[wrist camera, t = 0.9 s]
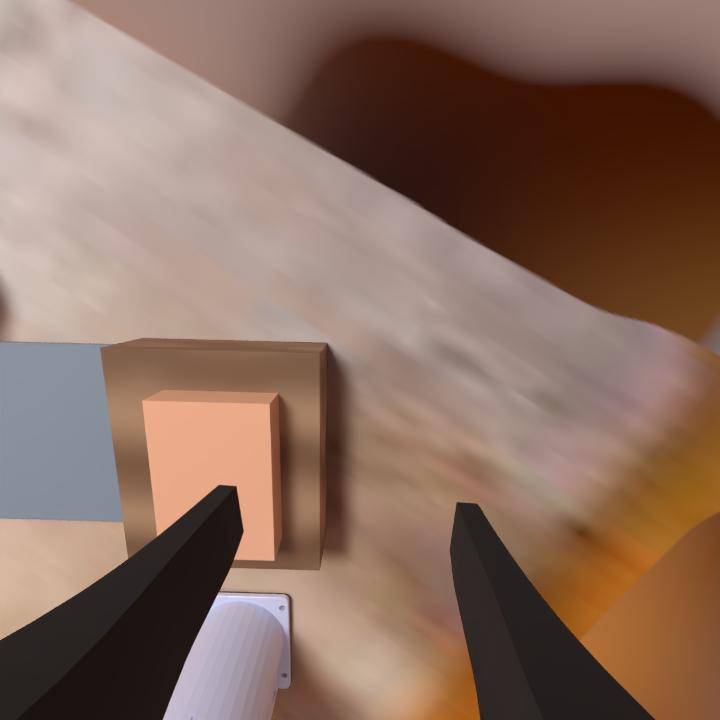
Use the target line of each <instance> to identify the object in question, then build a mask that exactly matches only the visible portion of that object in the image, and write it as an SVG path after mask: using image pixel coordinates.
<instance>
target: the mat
mask: <svg viewBox="0 0 720 720" xmlns="http://www.w3.org/2000/svg"><path fill="white" fill-rule="evenodd" d="M110 345H115V344H81V343H42V342H3V341H0V518H8V519H43V520H78V521H113V522H123V515H122V508H121V500H120V493H119V485H118V478H117V470H116V463H115V456H114V448H113V441H112V433H111V426H110V418H109V411H108V403H107V396H106V388H105V381H104V374H103V366H102V359H101V351H100V348H101V347H106V346H110Z"/></svg>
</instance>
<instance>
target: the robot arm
mask: <svg viewBox="0 0 720 720" xmlns="http://www.w3.org/2000/svg"><path fill="white" fill-rule="evenodd" d="M243 533H244V529H243V523H242V517H241V511H240V504H239V498H238V492H237V486H229V485H218V486H217V487H216V488H215V489H213V490H212V491H211V492H210V493H209V494H207V495H206V496H205V497H204V498H203V499H202V500H200V501H199V502H198V503H197V504H196V505H194V506H193V507H192V508H191V509H190V510H189V511H187V512H186V513H185V514H184V515H183V516H182V517H180V518H179V519H178V520H177V521H176V522H174V523H173V524H172V525H171V526H170V527H168V528H167V529H166V530H165V531H163V532H162V533H161V534H160V535H159V536H157V537H156V538H155V539H153V540H152V541H151V542H150V543H148V544H147V545H146V546H144V547H143V548H142V549H141V550H139V551H138V552H137V553H135V554H134V555H133V556H131V557H130V558H129V559H128V560H126V561H125V562H124V563H122V564H121V565H119V566H118V567H117V568H115V569H114V570H112V571H111V572H110V573H108V574H107V575H105V576H104V577H102V578H101V579H99V580H98V581H96V582H95V583H94V584H92V585H91V586H89V587H88V588H86V589H85V590H83V591H82V592H80V593H79V594H77V595H75V596H74V597H72V598H71V599H69V600H67V601H66V602H64V603H62V604H61V605H59V606H58V607H56V608H54V609H53V610H51V611H49V612H48V613H46V614H45V615H43V616H41V617H40V618H38V619H36V620H35V621H33V622H31V623H30V624H28V625H26V626H25V627H23V628H21V629H19V630H17V631H16V632H14V633H12V634H10V635H9V636H7V637H5V638H3V639H2V640H0V720H271V719H272V714H273V710H274V705H275V700H276V695H277V691H278V689H286V688H288V687H289V686H290V683H291V658H290V612H289V597H288V596H287V595H284V594H256V593H222V592H219V591H220V589H221V587H222V585H223V582H224V580H225V578H226V576H227V574H228V572H229V570H230V568H231V566H232V564H233V561H234V558H235V556H236V553H237V550H238V547H239V544H240V542H241V539H242V536H243ZM450 555H451V564H452V573H453V581H454V587H455V592H456V597H457V601H458V606H459V611H460V615H461V620H462V624H463V629H464V633H465V638H466V642H467V647H468V652H469V656H470V661H471V665H472V670H473V675H474V680H475V686H476V691H477V697H478V704H479V711H480V718H481V720H655V719H654V718H653V717H652V716H651V715H650V714H649V713H648V712H647V711H646V710H645V709H644V708H643V707H642V706H641V705H640V704H639V703H638V702H637V701H636V700H635V699H634V698H633V697H632V696H631V695H630V694H629V693H628V692H627V691H626V690H625V689H624V688H623V687H622V686H621V685H620V684H619V683H618V682H617V681H616V680H615V679H614V678H613V677H612V676H611V675H610V674H609V673H608V672H607V671H606V670H605V669H604V668H603V667H602V666H601V664H600V663H598V661H597V660H596V659H595V658H594V657H593V656H592V655H591V654H590V652H589V651H588V650H587V649H586V648H585V647H584V646H583V645H582V644H581V643H580V642H579V640H578V639H577V638H576V637H575V636H574V635H573V634H572V632H571V631H570V630H569V629H568V628H567V627H566V626H565V624H564V623H563V622H562V621H561V620H560V618H559V617H558V616H557V615H556V614H555V612H554V611H553V610H552V609H551V608H550V606H549V605H548V604H547V603H546V601H545V600H544V599H543V598H542V596H541V595H540V594H539V592H538V591H537V590H536V589H535V587H534V586H533V585H532V583H531V582H530V581H529V579H528V578H527V577H526V575H525V574H524V573H523V571H522V570H521V569H520V567H519V566H518V564H517V563H516V562H515V560H514V559H513V557H512V556H511V555H510V553H509V552H508V550H507V549H506V547H505V546H504V544H503V543H502V541H501V540H500V538H499V537H498V535H497V534H496V532H495V531H494V529H493V528H492V526H491V525H490V523H489V521H488V520H487V518H486V517H485V515H484V513H483V512H482V510H481V508H480V507H479V506H478V505H477V504H474V503H460V502H457V505H456V511H455V518H454V525H453V531H452V538H451V545H450ZM283 606H284V607H283Z"/></svg>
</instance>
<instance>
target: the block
mask: <svg viewBox="0 0 720 720" xmlns="http://www.w3.org/2000/svg"><path fill="white" fill-rule="evenodd" d="M142 404H143V413H144V422H145V431H146V440H147V449H148V458H149V467H150V476H151V485H152V493H153V502H154V511H155V520H156V529H157V536H159V535H160V534H161V533H162V532H163V531H165V530H166V529H167V528H168V527H170V526H171V525H172V524H173V523H174V522H176V521H177V520H178V519H179V518H180V517H182V516H183V515H184V514H185V513H186V512H187V511H189V510H190V509H191V508H192V507H193V506H194V505H196V504H197V503H198V502H199V501H200V500H202V499H203V498H204V497H205V496H206V495H207V494H209V493H210V492H211V491H212V490H213V489H215V488H216V487H217V486H218V485H229V486H237V492H238V498H239V504H240V511H241V517H242V523H243V529H244V533H243V536H242V539H241V542H240V544H239V547H238V550H237V553H236V556H235V558H234V560H266V561H275V558H276V555H277V552H278V549H279V546H280V543H281V539H282V509H281V470H280V432H279V393H257V392H219V391H181V390H162V391H160V392H158V393H156V394H154V395H152V396H150V397H148V398H146V399H144V400H142Z"/></svg>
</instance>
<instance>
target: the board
mask: <svg viewBox="0 0 720 720" xmlns="http://www.w3.org/2000/svg"><path fill="white" fill-rule="evenodd" d="M100 351H101V359H102V366H103V374H104V381H105V388H106V396H107V403H108V411H109V418H110V426H111V433H112V441H113V448H114V456H115V463H116V470H117V478H118V485H119V493H120V500H121V508H122V515H123V523H124V530H125V537H126V545H127V552H128V559H129V558H130V557H131V556H133V555H134V554H135V553H137V552H138V551H139V550H141V549H142V548H143V547H144V546H146V545H147V544H148V543H150V542H151V541H152V540H153V539H155V538H156V537H157V529H156V520H155V511H154V502H153V493H152V485H151V476H150V467H149V458H148V449H147V440H146V431H145V422H144V413H143V404H142V400H144V399H146V398H148V397H150V396H152V395H154V394H156V393H158V392H160V391H162V390H181V391H219V392H257V393H279V432H280V470H281V509H282V539H281V543H280V546H279V549H278V552H277V555H276V558H275V561H266V560H234V561H233V564H232V566H231V568H256V569H290V570H320V566H321V559H322V553H323V547H324V540H325V534H326V447H327V343H312V342H273V341H234V340H196V339H157V338H141V339H137V340H132V341H128V342H124V343H119V344H115V345H110V346H106V347H101V348H100Z"/></svg>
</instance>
